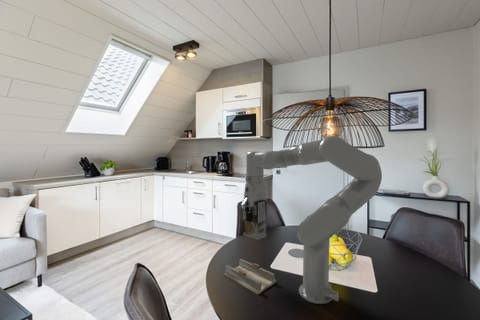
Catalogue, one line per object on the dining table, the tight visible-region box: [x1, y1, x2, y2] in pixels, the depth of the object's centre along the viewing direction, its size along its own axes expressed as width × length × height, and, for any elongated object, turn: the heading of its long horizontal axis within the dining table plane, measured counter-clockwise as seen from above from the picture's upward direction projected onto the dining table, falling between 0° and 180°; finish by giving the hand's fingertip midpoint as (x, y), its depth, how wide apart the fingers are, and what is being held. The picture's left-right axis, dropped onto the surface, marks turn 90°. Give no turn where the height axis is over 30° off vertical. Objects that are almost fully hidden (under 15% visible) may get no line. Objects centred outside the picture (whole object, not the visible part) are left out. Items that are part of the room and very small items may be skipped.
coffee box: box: [242, 199, 268, 241], centre depth 105 cm, size 9×6×16 cm
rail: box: [223, 258, 277, 295], centre depth 104 cm, size 12×20×5 cm, turn 45°
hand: (254, 219), depth 105 cm, fingers closed on coffee box, 6 cm apart
